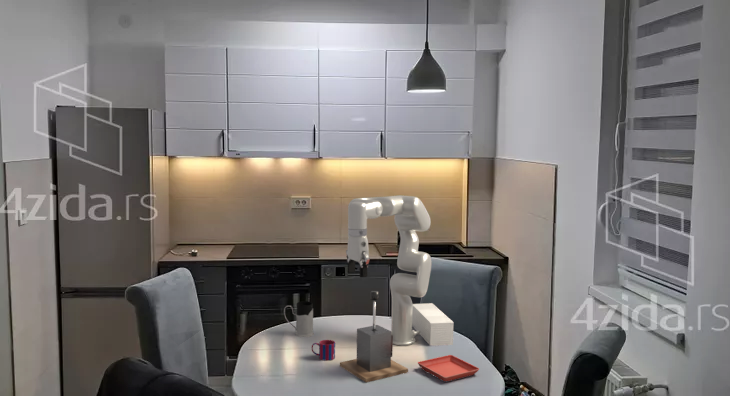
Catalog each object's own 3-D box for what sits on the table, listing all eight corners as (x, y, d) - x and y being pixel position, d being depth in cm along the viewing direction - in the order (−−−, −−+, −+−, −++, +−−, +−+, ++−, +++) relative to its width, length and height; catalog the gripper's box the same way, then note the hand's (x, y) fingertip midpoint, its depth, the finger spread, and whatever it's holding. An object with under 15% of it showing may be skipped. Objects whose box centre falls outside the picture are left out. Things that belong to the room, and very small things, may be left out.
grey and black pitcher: (312, 337, 292) (313, 306, 290) (282, 336, 292) (282, 305, 290) (314, 331, 300) (314, 301, 299) (285, 331, 301) (285, 300, 299)
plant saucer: (480, 376, 248) (480, 368, 248) (444, 385, 239) (445, 377, 239) (450, 362, 264) (451, 354, 263) (416, 370, 254) (416, 362, 254)
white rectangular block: (452, 345, 284) (453, 322, 283) (430, 346, 282) (430, 323, 281) (431, 324, 315) (432, 303, 314) (411, 325, 313) (411, 304, 312)
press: (383, 358, 262) (384, 323, 260) (397, 365, 254) (398, 330, 252) (356, 364, 255) (356, 328, 253) (369, 372, 246) (370, 335, 245)
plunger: (376, 338, 258) (377, 288, 256) (387, 344, 251) (388, 292, 249) (360, 341, 253) (360, 290, 251) (371, 347, 247) (371, 295, 245)
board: (380, 357, 267) (380, 353, 267) (408, 372, 250) (408, 368, 250) (339, 366, 256) (339, 362, 256) (366, 382, 240) (366, 378, 239)
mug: (333, 361, 262) (333, 345, 261) (310, 359, 263) (310, 343, 263) (336, 355, 268) (336, 340, 268) (313, 354, 270) (313, 338, 269)
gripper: (376, 235, 245) (376, 277, 247) (355, 228, 260) (354, 269, 262) (360, 236, 241) (360, 280, 243) (339, 230, 256) (339, 271, 258)
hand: (357, 274), depth 253 cm, fingers open, 9 cm apart
